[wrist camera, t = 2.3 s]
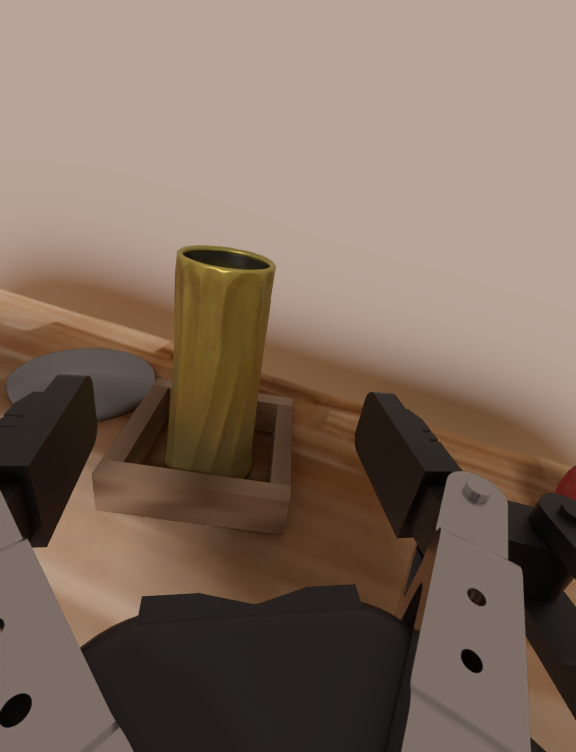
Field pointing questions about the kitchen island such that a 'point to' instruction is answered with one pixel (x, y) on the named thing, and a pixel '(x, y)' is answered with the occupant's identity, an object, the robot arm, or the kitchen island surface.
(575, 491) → the onion
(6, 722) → the robot arm
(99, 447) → the kitchen island surface
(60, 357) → the coaster
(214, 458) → the vase
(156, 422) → the square wooden tray
